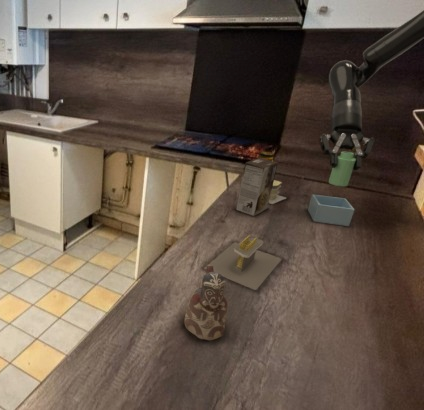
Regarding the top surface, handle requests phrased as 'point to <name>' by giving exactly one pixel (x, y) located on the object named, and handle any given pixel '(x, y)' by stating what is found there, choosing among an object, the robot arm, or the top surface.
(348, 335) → the top surface
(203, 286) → the figurine
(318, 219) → the case
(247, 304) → the top surface
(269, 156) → the condiment
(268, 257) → the platform
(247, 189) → the coffee box
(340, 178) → the bottle
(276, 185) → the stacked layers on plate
